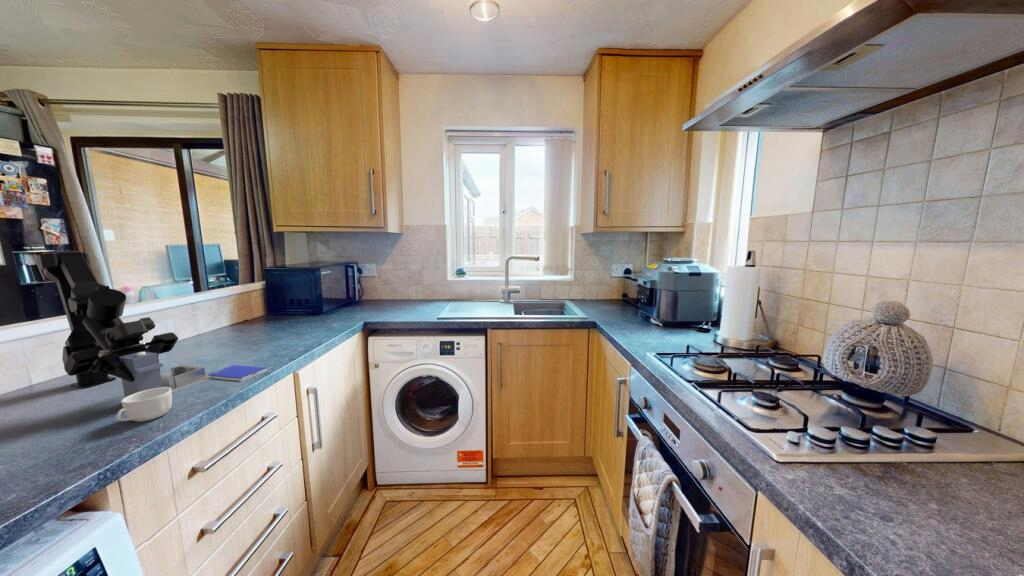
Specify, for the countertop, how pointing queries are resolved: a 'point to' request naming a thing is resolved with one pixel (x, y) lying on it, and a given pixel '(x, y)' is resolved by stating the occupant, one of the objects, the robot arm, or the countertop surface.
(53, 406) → the countertop surface
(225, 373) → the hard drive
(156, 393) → the teacup
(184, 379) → the chassis
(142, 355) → the block
